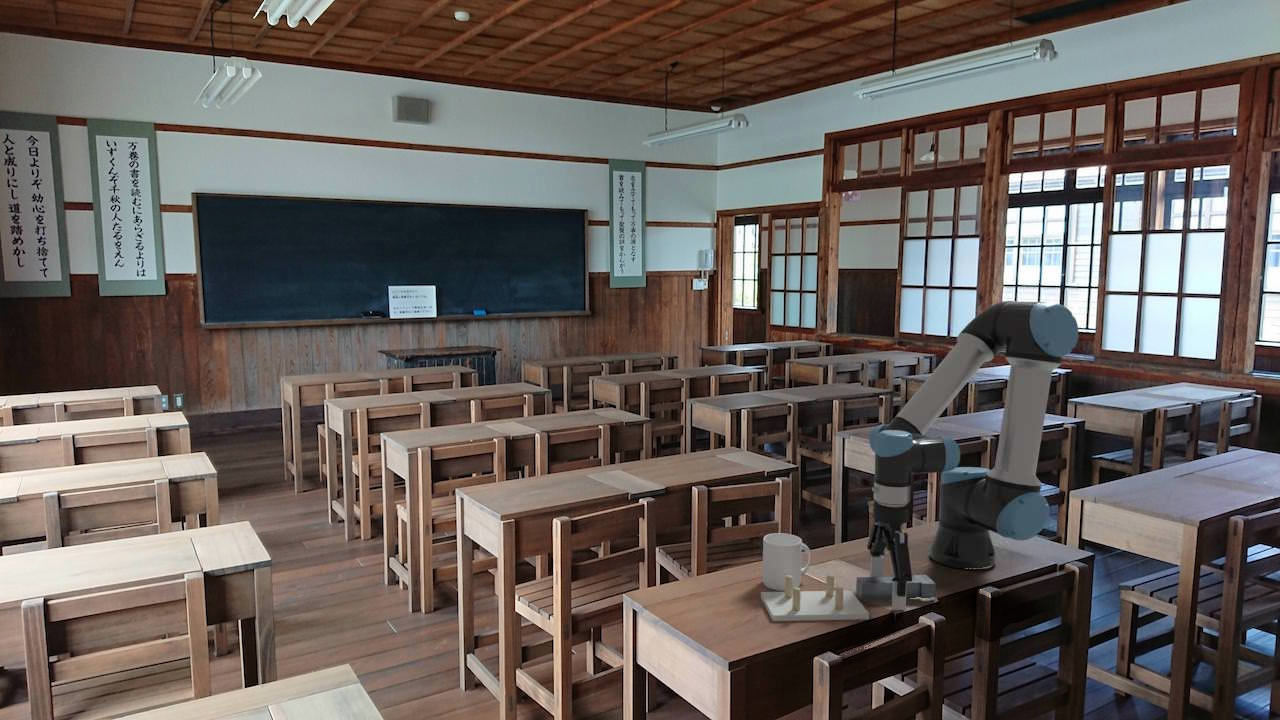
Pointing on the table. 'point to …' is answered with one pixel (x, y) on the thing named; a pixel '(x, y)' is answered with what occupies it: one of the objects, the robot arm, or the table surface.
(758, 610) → the table surface
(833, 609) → the rack
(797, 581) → the mug
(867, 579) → the grey bar
